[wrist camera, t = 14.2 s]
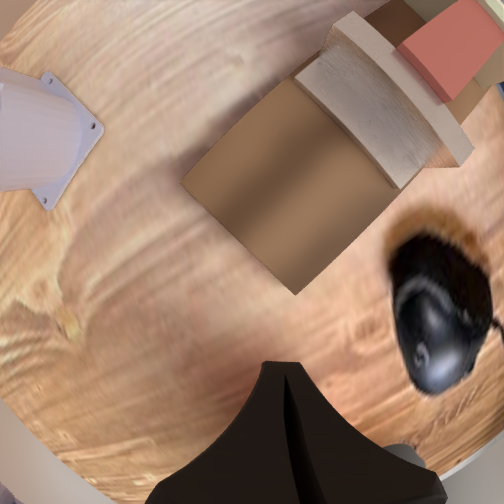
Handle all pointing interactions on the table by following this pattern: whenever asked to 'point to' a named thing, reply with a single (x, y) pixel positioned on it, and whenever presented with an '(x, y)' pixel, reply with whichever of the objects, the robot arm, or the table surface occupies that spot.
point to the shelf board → (302, 172)
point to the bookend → (383, 103)
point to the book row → (500, 9)
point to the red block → (453, 47)
